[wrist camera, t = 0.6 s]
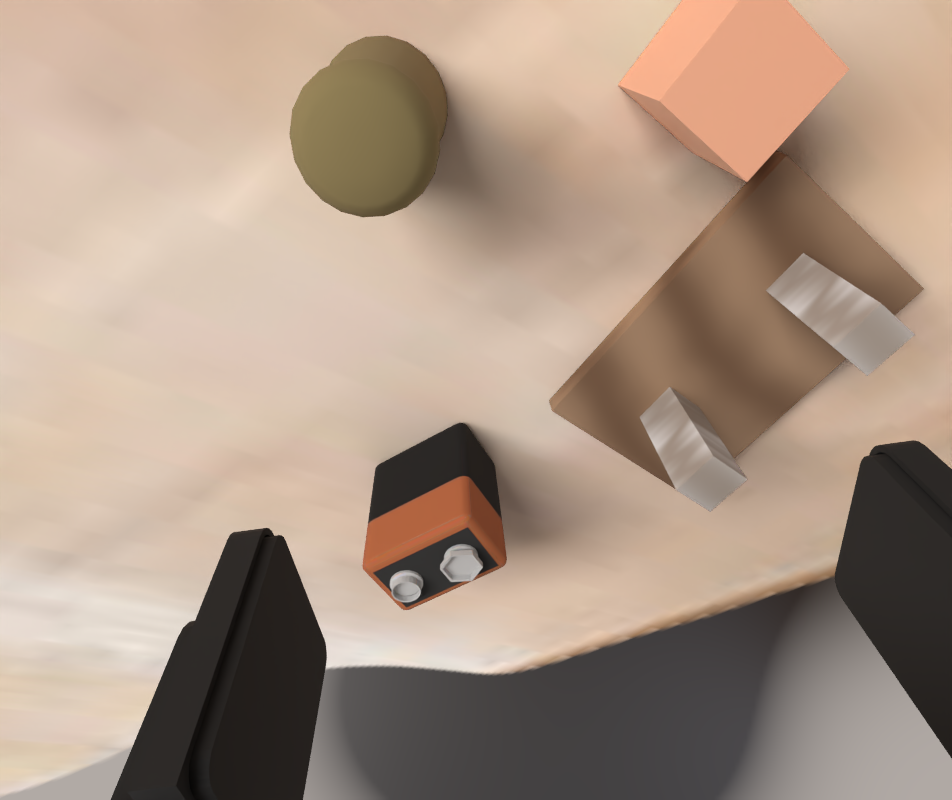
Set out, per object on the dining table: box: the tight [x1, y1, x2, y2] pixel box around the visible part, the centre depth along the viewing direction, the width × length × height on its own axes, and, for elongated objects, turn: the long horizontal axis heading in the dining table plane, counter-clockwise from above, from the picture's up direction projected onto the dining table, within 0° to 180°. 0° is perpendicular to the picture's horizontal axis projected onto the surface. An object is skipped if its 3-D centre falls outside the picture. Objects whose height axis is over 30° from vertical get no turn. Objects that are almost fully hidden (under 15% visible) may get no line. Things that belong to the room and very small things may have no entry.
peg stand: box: [549, 151, 924, 512], centre depth 35 cm, size 18×12×8 cm, turn 143°
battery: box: [363, 423, 507, 610], centre depth 37 cm, size 4×7×10 cm, turn 120°
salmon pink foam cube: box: [618, 0, 849, 182], centre depth 28 cm, size 5×5×7 cm
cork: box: [290, 36, 448, 217], centre depth 26 cm, size 6×6×11 cm
